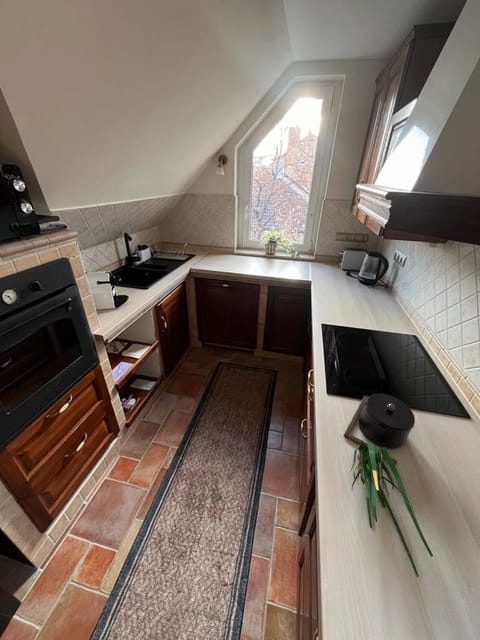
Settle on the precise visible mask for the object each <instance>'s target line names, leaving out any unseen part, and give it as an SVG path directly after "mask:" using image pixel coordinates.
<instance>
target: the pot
mask: <svg viewBox="0 0 480 640" xmlns="http://www.w3.org/2000/svg"><path fill="white" fill-rule="evenodd" d="M367 397H368V398H367V400H366V402H365V404H364V406H363V408H362V410H361V412H360V414H359V416H358V420H357V421H358V428H359V430H360V432H361V433H362V435H363V436H364V437H365V438H366V439H367V440H368V441H369V442H370V443H372V444H373V445H376V446H377V447H379V448H380V447H381V448H384V447H386V449H387V450H395V449H399V448H401V447H402V446H403V445H404V443H405V441H406V440H407V438H408V437H409V434H410V433H411V431H412V430H413V428H414V426H415V423H416V417H415V414H414V412H413V411H412V409H411V408H410V407H409V406H408V404H406V403H405V402H403V401H402V400H401V399H399V398H397V397H395V396H393V395H390V394H387V393H373V394H371V395H369V396H367Z"/></svg>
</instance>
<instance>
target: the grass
mask: <svg viewBox="0 0 480 640" xmlns="http://www.w3.org/2000/svg"><path fill="white" fill-rule="evenodd" d="M361 440H362V441H361V443H360V445H358V444H357V448H355V449H354V453H353V463H352V466H351V468H350V471H349V473H350V472H351V473H352V471H353V468H354V466H355V465H356V462H357V461H358V464H357V465H356V466H355V468H354V471H353V473H352V477H353V482H352V484H351V490H353V489H354V485H355V484H356V481H357V485H358V486H360V482H361V483H362V485H364V488H365V500H366V509H367V516H368V523H369V528H370V529H373V523H372V518H374V521H375V523H378V516H377V498H378V497H379V500H380V503H381V505H382V508H383V509H387V512H388V513H389V516H390V517H391V520H392V522H393V524H394V526H395V529H396V530H397V533H398V535H399V537H400V540H401V542H402V545H403V547H404V549H405V551H406V553H407V556H408V558H409V560H410V563H411V565H412V568H413V570H414V572H415V575H416V577H417V578H419V577H420V576H419V572H418V570H417V567H416V564H415V562H414V559H413V557H412V555H411V552H410V549H409V547H408V545H407V542H406V540H405V537H404V535H403V533H402V530H401V528H400V525H399V523H398V521H397V519H396V516H395V514H394V512H393V510H392V507H391V505H390V502H389V499H388V498H387V496H388V497H390V492H389V490H388V487H387V484H386V482H388V483H389V484H390V485H391V488H392V489H391V490H393V489H394V488H395V489H397V491H398V492H399V493H400V494H401V496H402V499H403V502H404V503H405V506H406V509H407V512H408V513H409V515H410V517H411V520H412V522H413V524H414V526H415V529H416V532H417V533H418V535H419V537H420V539H421V541H422V543H423V545H424V547H425V549H426V550H427V553H428V554H429V556H430V558H432V557H434V554H433V551H431V548H430V547H429V546H430V545H429V544H428V542H427V541H426V539H425V536H424V534H423V532H422V530H421V527H420V524H419V523H418V519H417V517H416V515H415V512H414V507H413V506H412V502H411V501H410V500H409V497H408V494H407V491H406V488H405V485H404V482H403V479H402V477H401V475H400V472H399V470H398V468H397V467H396V466H397V465H396V466H395V464H394V463H393V461H392V459H391V458H392V457H391V455H390V453H389V451H388V449H387V448H386V447H384V448H383V447H380V446H377V445H376V446H375V445H374V443H372V442H370V443H369V442H365V441H364V440H363V439H361ZM364 442H365V443H367V446H366V447H365V443H364ZM379 451H380V453H379ZM382 455H383V457H384V458H385V460H386V461H385V460H383V459H382ZM356 460H357V461H356ZM384 461H385V462H386V463H385V462H384ZM388 467H389V468H388ZM356 470H357V472H356ZM390 471H391V472H392V475H393V476H394V479H395V481H396V483H397V484H396V485H395V482H394V480H393V477H392V475H391V472H390ZM384 473H385V474H386V476H387V477H385V476H384ZM360 480H361V481H360ZM397 486H398V487H397ZM384 490H385V491H386V493H387V496H386V494H385V492H384ZM370 496H371V498H370ZM370 499H371V500H370ZM371 503H372V504H371ZM371 506H372V507H371ZM371 508H372V514H371Z"/></svg>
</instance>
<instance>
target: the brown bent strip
mask: <svg viewBox="0 0 480 640" xmlns="http://www.w3.org/2000/svg"><path fill="white" fill-rule="evenodd" d="M368 397H369V396H367V395H363V398H362V399H361V401H360V402H359V405H358V407H357V409H356V411H355V413H354V415H353V416H352V418H351V421H350V422H349V424H348V425H347V428H346V429H345V432H344V433H343V437H344V438H346V439H348V440H350V441H351V442H353V443H354V444H356V445H357V446H358V445H359V446H360V443H361V441H362V440H363V439H360V438H359V437H357V436H355V435H353V434H351V433H352V430H353V428H354V425H355V424H356V422H357V421H358V420H357V419H359V417H360V415H361V412H362V410H363V407H364V405H365V402H366V400H367V398H368ZM364 443H365V447H366V446H367V443H368V442H365V441H364ZM379 453H380V451H379ZM391 459H392V461H393V463H394V464H395V466H397V463H398V460H397V459H395V458H393V457H391ZM382 460H383V461H385V462H386V460H385V458H384V457H383V455H382Z"/></svg>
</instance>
